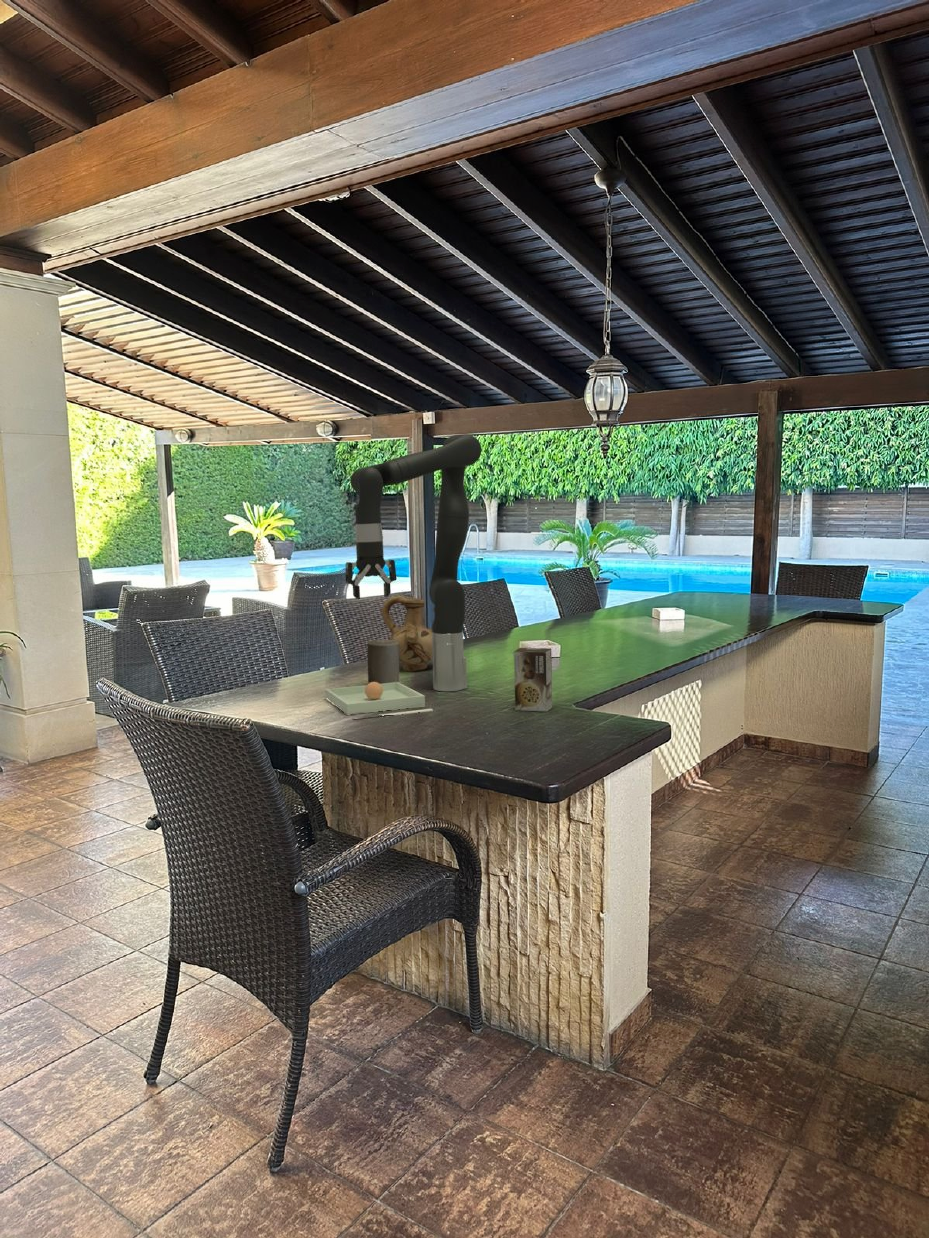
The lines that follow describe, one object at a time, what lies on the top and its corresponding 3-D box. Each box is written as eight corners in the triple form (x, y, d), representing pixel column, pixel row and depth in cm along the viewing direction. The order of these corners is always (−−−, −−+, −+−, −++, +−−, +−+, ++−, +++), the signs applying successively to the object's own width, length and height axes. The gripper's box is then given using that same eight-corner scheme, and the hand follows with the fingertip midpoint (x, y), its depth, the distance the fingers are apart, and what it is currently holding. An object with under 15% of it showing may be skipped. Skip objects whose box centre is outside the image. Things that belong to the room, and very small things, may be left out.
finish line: (430, 709, 237) (430, 708, 237) (433, 710, 235) (433, 709, 235) (352, 718, 228) (352, 717, 228) (353, 720, 227) (353, 719, 227)
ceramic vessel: (412, 676, 285) (410, 599, 282) (373, 669, 298) (371, 595, 295) (451, 668, 298) (450, 594, 295) (412, 662, 311) (411, 591, 308)
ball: (379, 696, 250) (379, 679, 249) (385, 700, 245) (384, 682, 244) (363, 698, 248) (362, 681, 247) (368, 702, 243) (367, 684, 242)
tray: (398, 691, 261) (397, 681, 260) (425, 706, 241) (424, 695, 240) (325, 699, 252) (325, 689, 252) (347, 715, 232) (347, 704, 232)
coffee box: (553, 706, 238) (552, 648, 236) (547, 712, 232) (546, 651, 230) (520, 705, 241) (519, 646, 239) (513, 710, 235) (513, 650, 233)
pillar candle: (362, 688, 267) (361, 639, 265) (377, 682, 276) (376, 634, 274) (390, 690, 263) (390, 641, 261) (405, 684, 272) (404, 636, 270)
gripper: (388, 538, 252) (391, 594, 254) (340, 541, 246) (343, 598, 248) (397, 539, 245) (400, 597, 247) (348, 541, 239) (351, 600, 241)
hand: (372, 597), depth 248 cm, fingers open, 8 cm apart
